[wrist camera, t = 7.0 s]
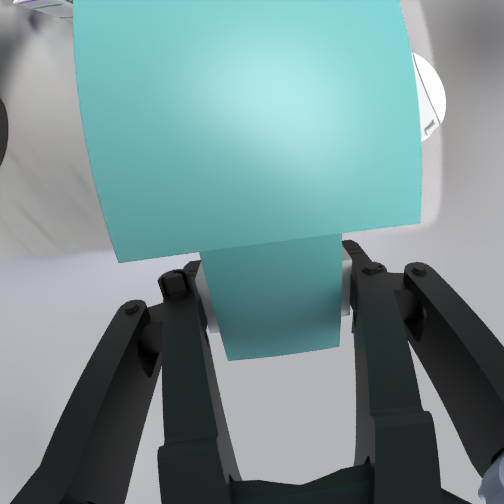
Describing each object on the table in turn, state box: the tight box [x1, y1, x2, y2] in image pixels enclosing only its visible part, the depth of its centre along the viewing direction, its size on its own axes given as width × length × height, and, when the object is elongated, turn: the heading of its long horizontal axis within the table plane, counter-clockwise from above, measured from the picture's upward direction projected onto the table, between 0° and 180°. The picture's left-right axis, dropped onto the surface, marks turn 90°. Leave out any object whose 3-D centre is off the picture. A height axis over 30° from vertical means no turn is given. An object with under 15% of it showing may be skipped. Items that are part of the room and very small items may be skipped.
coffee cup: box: [411, 52, 446, 142], centre depth 23 cm, size 8×8×15 cm
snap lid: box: [73, 0, 422, 361], centre depth 9 cm, size 23×11×6 cm, turn 8°
